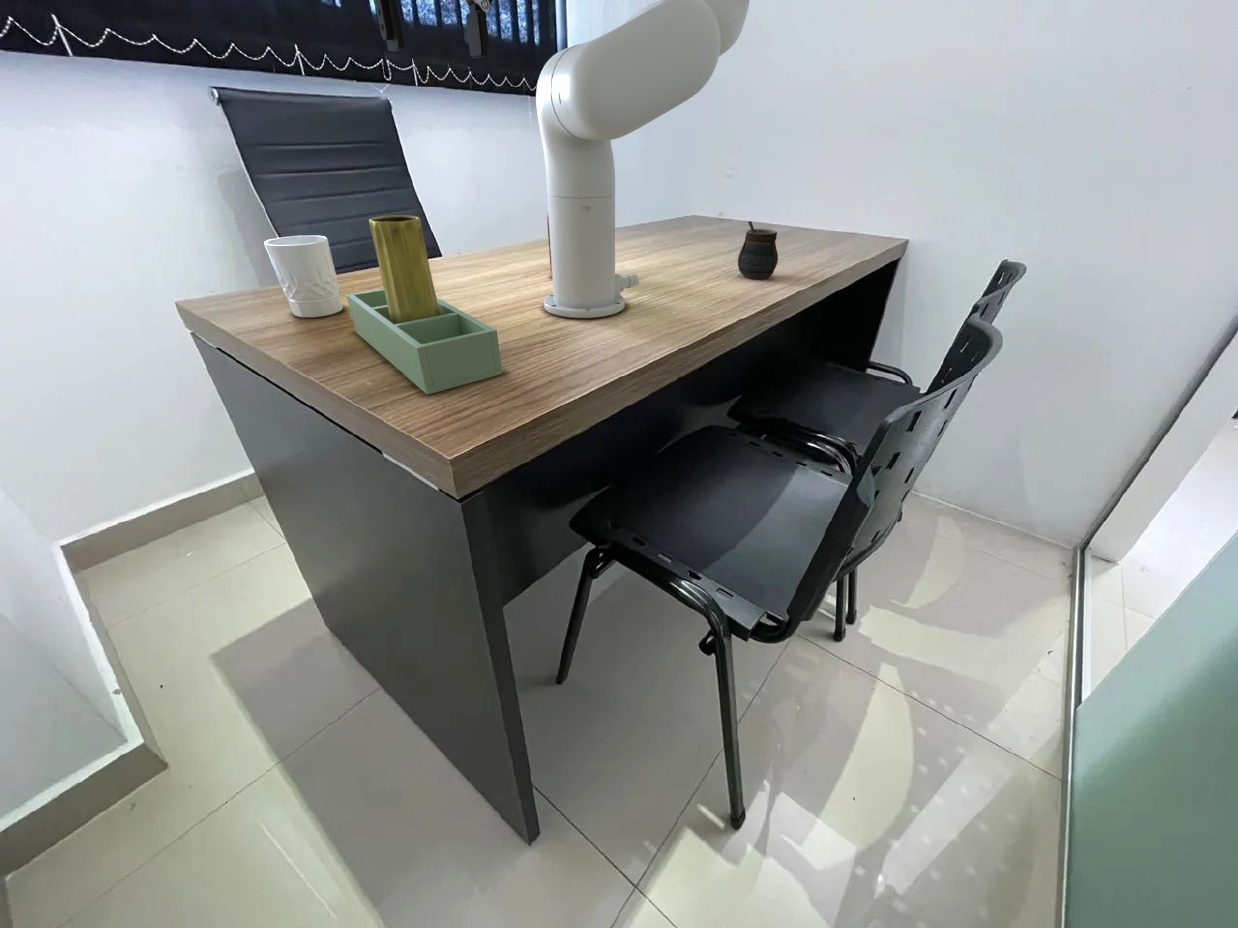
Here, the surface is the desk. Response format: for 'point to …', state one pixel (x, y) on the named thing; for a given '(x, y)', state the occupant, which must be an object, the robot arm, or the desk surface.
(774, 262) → the mate gourd
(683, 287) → the desk surface
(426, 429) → the desk surface
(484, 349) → the compartment tray
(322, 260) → the white cup
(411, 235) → the vase
